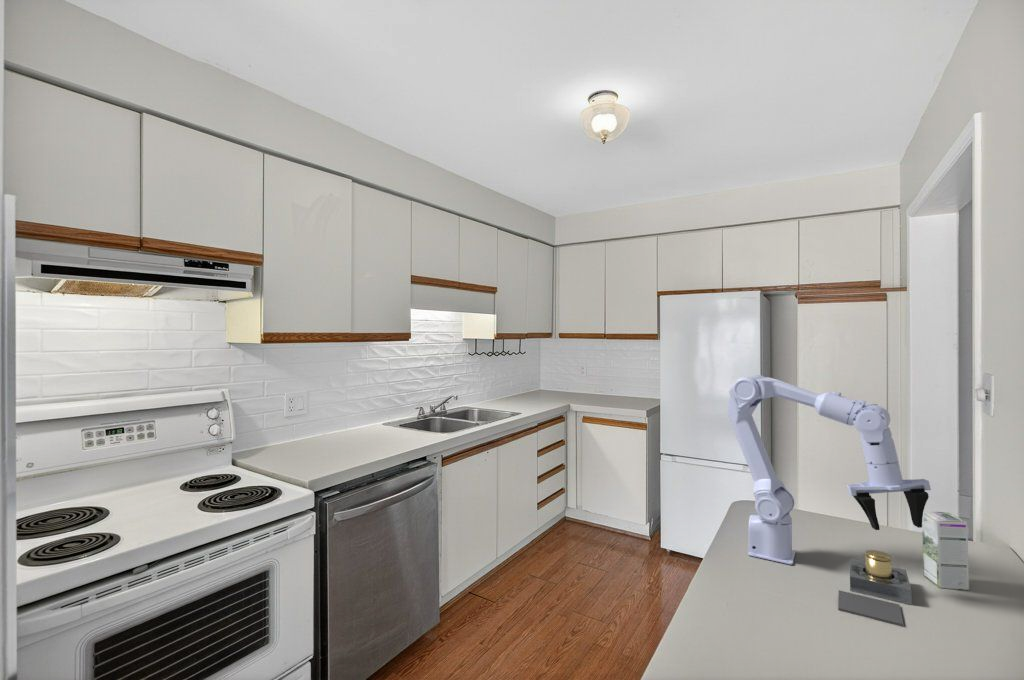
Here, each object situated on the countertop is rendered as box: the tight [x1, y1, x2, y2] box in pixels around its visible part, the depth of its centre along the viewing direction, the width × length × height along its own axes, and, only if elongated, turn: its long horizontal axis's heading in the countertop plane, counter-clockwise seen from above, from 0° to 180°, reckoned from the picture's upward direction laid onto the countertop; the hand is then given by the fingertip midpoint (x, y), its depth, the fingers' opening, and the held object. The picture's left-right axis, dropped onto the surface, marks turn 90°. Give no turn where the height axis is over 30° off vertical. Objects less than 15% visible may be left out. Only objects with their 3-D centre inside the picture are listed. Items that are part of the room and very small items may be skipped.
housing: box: [849, 557, 912, 605], centre depth 104 cm, size 10×10×3 cm
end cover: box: [865, 549, 892, 579], centre depth 104 cm, size 4×4×7 cm
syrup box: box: [921, 511, 970, 591], centre depth 105 cm, size 6×6×14 cm
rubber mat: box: [837, 590, 904, 627], centre depth 96 cm, size 10×8×1 cm
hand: (896, 527), depth 103 cm, fingers open, 7 cm apart
